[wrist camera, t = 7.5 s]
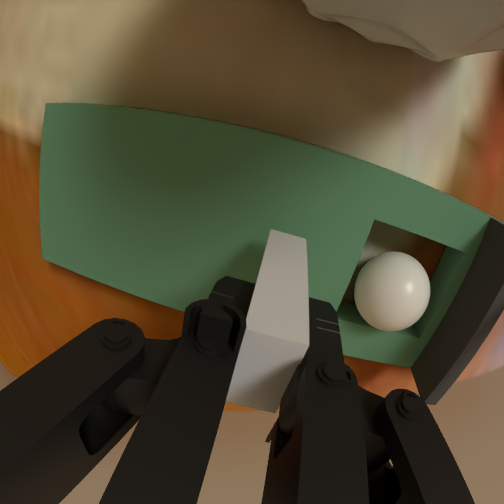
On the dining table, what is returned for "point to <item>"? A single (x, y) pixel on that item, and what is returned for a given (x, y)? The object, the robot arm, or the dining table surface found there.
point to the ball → (392, 291)
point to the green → (257, 224)
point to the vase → (421, 24)
